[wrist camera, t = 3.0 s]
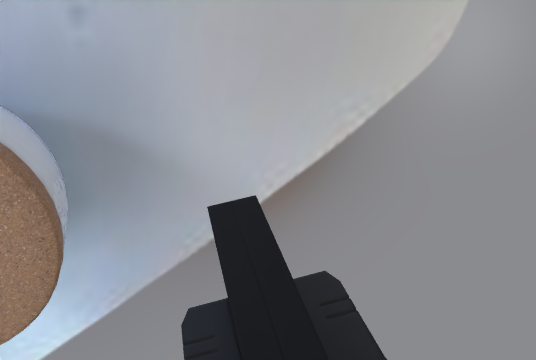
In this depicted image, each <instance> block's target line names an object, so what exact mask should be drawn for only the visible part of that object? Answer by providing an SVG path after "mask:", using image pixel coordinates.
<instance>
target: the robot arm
mask: <svg viewBox="0 0 536 360" xmlns="http://www.w3.org/2000/svg"><path fill="white" fill-rule="evenodd" d="M207 208H208V212H209V217H210V221H211V225H212V230H213V234H214V238H215V243H216V247H217V251H218V256H219V260H220V265H221V269H222V273H223V278H224V282H225V286H226V291H227V295H228V298H226V299H222V300H219V301H215V302H211V303H207V304H204V305H200V306H196V307H192V308H189V309H188V311H187V314H186V316H185V318H184V321H183V323H182V339H183V351H184V359H185V360H387V359H386V358H385V357H384V355H383V353H382V351H381V350H380V348H379V346H378V345H377V343H376V341H375V340H374V338H373V336H372V334H371V333H370V331H369V329H368V328H367V326H366V325H365V323H364V321H363V319H362V318H361V316H360V314H359V312H358V311H357V310H356V307H355V306H354V304H353V302H352V300H351V299H349V295H348V294H347V292H346V291H345V289H344V287H343V285H342V284H341V282H340V281H339V280H338V279H336V278H335V277H333V276H332V275H330V274H329V273H327V272H326V271H322V272H318V273H315V274H311V275H307V276H303V277H299V278H296V279H293V278H292V276H291V273H290V271H289V269H288V267H287V265H286V262H285V260H284V258H283V256H282V253H281V251H280V249H279V247H278V244H277V242H276V240H275V238H274V235H273V233H272V231H271V229H270V226H269V224H268V222H267V220H266V217H265V215H264V213H263V211H262V208H261V206H260V204H259V202H258V199H257V197H256V195H255V196H251V197H247V198H242V199H238V200H234V201H230V202H225V203H221V204H217V205H213V206H209V207H207Z"/></svg>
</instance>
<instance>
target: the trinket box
mask: <svg viewBox="0 0 536 360" xmlns="http://www.w3.org/2000/svg"><path fill="white" fill-rule="evenodd" d="M67 216H68V202H67V196H66V189H65V184H64V180H63V177H62V174H61V171H60V168H59V166H58V164H57V162H56V160H55V158H54V156H53V155H52V153H51V151H50V150H49V148H48V147H47V146H46V144H45V143H44V142H43V141H42V139H41V138H40V137H39V135H38V134H37V133H36V132H35V131H34V130H33V129H31V128H30V127H29V126H28V125H27V124H26V123H25V122H24V121H23V120H21V119H20V118H19V117H17V116H16V115H14V114H13V113H12V112H10V111H9V110H7V109H5V108H3V107H1V106H0V345H1V344H3V343H5V342H7V341H9V340H10V339H11V338H13V337H14V336H16V335H17V334H19V333H20V332H21V331H23V330H24V329H25V328H26V327H27V326H28V325H29V324H30V323H32V322H33V321H34V320H35V319H36V318H37V317H38V316H39V314H40V313H41V311H42V310H43V309H44V307H45V306H46V304H47V303H48V302H49V300H50V298H51V296H52V293H53V291H54V289H55V287H56V285H57V281H58V277H59V273H60V269H61V265H62V261H63V247H64V243H65V238H66V233H67Z"/></svg>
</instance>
